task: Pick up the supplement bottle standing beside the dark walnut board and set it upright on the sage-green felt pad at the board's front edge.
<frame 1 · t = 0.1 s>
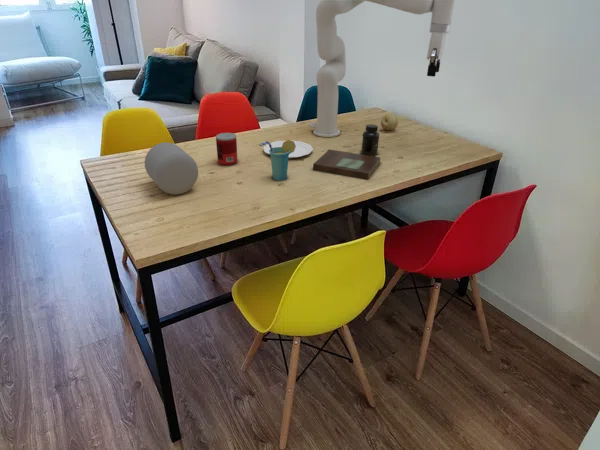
hand: (432, 73, 183), 31 cm above the table, tool pointing down, fingers open, 9 cm apart
plate: (288, 152, 191), on the table
canned food: (227, 162, 180), on the table
grey rounded cylinder: (165, 185, 161), on the table
walnut board: (347, 166, 178), on the table
cup: (277, 178, 167), on the table
supplement bottle: (369, 153, 191), on the table
fruit: (388, 130, 219), on the table
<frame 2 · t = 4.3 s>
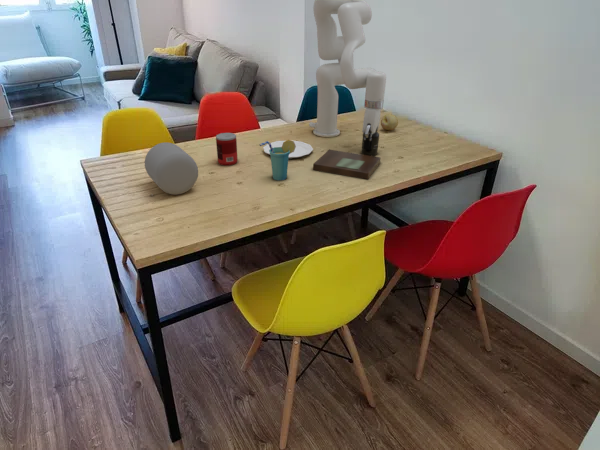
hand: (370, 146, 189), 3 cm above the table, tool pointing down, fingers closed on supplement bottle, 6 cm apart
supplement bottle: (369, 153, 191), on the table, touching gripper
everything else where it was.
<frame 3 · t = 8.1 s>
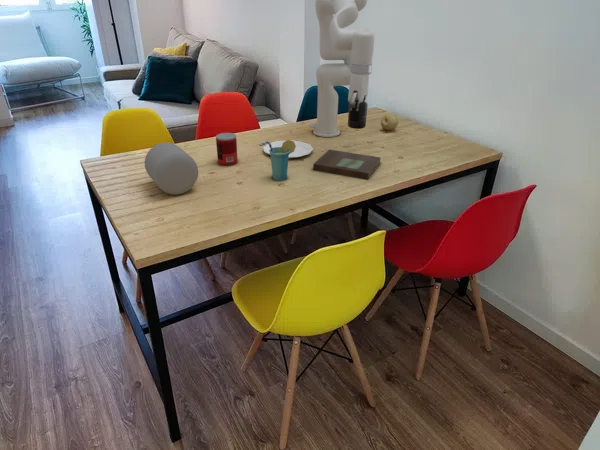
hand: (357, 118, 168), 19 cm above the table, tool pointing down, fingers closed on supplement bottle, 6 cm apart
supplement bottle: (356, 127, 170), point 16 cm above the table, touching gripper
everything else where it was.
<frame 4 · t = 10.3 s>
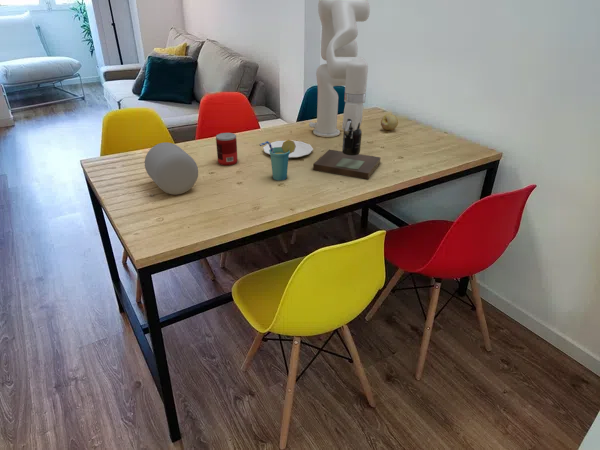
hand: (351, 144, 170), 10 cm above the table, tool pointing down, fingers closed on supplement bottle, 6 cm apart
supplement bottle: (351, 153, 171), point 7 cm above the table, touching gripper
everything else where it was.
when the fingers open (6 cm above the table, at t = 12.0 s): supplement bottle stays where it is, resting on walnut board.
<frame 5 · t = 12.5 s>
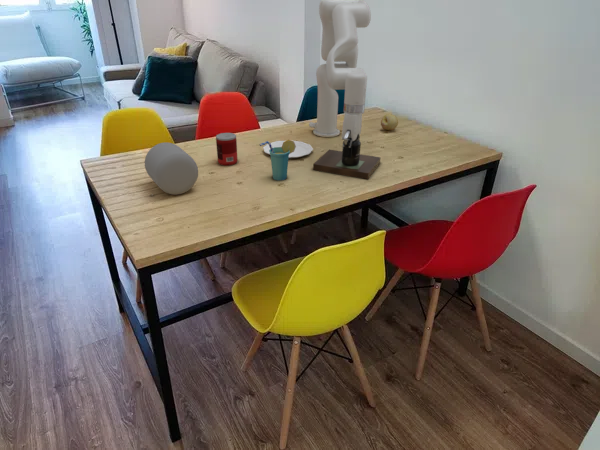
hand: (350, 152, 171), 7 cm above the table, tool pointing down, fingers open, 9 cm apart
supplement bottle: (350, 163, 173), point 3 cm above the table, touching walnut board
everything else where it was.
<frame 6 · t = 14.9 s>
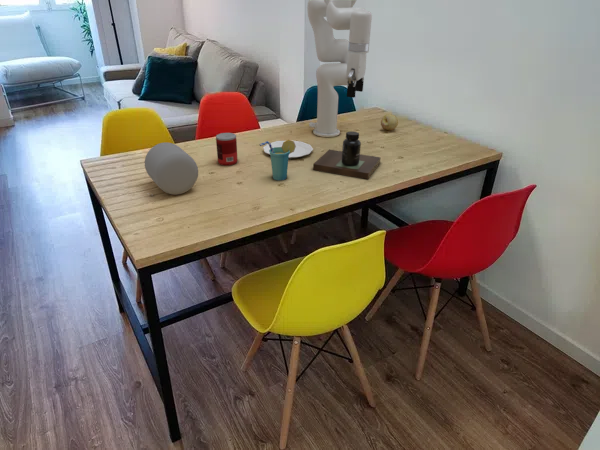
hand: (354, 94, 175), 26 cm above the table, tool pointing down, fingers open, 9 cm apart
nothing on the table moved.
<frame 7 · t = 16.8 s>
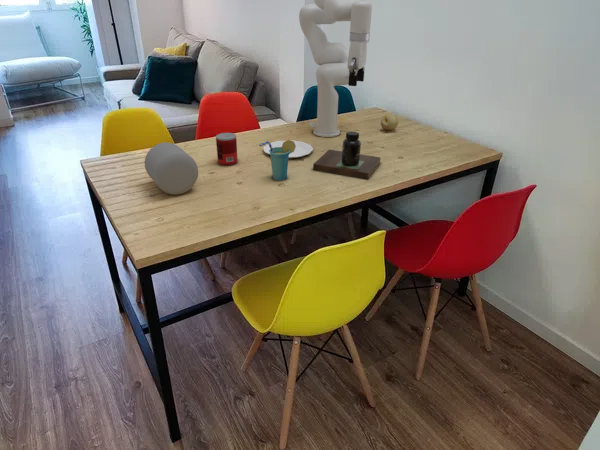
hand: (356, 83, 180), 28 cm above the table, tool pointing down, fingers open, 9 cm apart
nothing on the table moved.
at the end: supplement bottle inside the target area on the walnut board (0.1 cm from its centre), point 2.5 cm above the walnut board's base; supplement bottle tilted 0°; the gripper is holding nothing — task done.
